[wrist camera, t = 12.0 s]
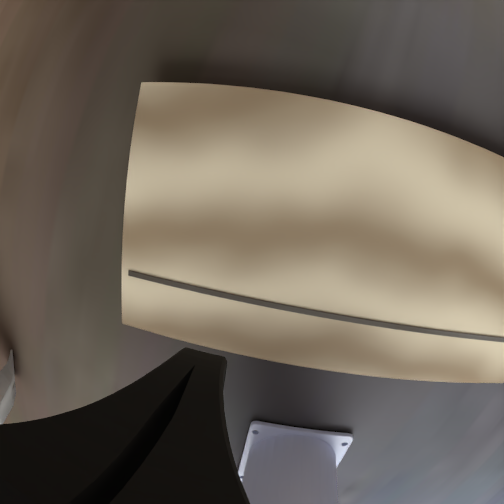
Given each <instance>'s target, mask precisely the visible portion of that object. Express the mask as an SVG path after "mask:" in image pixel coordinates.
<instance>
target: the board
mask: <svg viewBox="0 0 504 504" xmlns="http://www.w3.org/2000/svg"><path fill="white" fill-rule="evenodd" d="M122 323H123V324H126V325H129V326H133V327H136V328H139V329H143V330H146V331H149V332H153V333H156V334H160V335H163V336H167V337H171V338H174V339H178V340H182V341H185V342H189V343H193V344H197V345H201V346H205V347H209V348H214V349H218V350H222V351H226V352H231V353H235V354H240V355H244V356H249V357H254V358H259V359H264V360H269V361H274V362H280V363H285V364H291V365H296V366H302V367H308V368H314V369H321V370H328V371H334V372H342V373H349V374H357V375H366V376H374V377H384V378H395V379H406V380H420V381H436V382H461V383H504V157H502V156H500V155H497V154H495V153H493V152H491V151H488V150H486V149H484V148H482V147H479V146H477V145H475V144H472V143H470V142H467V141H465V140H462V139H460V138H457V137H454V136H452V135H449V134H447V133H444V132H441V131H438V130H435V129H433V128H430V127H427V126H424V125H421V124H418V123H415V122H411V121H408V120H405V119H402V118H398V117H395V116H392V115H388V114H385V113H381V112H377V111H373V110H370V109H366V108H362V107H358V106H353V105H349V104H345V103H340V102H336V101H331V100H326V99H321V98H316V97H311V96H305V95H299V94H293V93H287V92H281V91H274V90H266V89H258V88H250V87H240V86H230V85H217V84H202V83H177V82H142V83H141V88H140V93H139V98H138V104H137V109H136V115H135V122H134V128H133V135H132V142H131V149H130V157H129V166H128V175H127V185H126V196H125V208H124V223H123V244H122Z"/></svg>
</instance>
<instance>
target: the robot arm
mask: <svg viewBox="0 0 504 504" xmlns="http://www.w3.org/2000/svg"><path fill="white" fill-rule="evenodd" d="M226 368H227V360H226V358H225V357H222V356H218V355H214V354H209V353H205V352H201V351H197V350H193V349H190V348H184V349H182V350H181V351H179V352H178V353H177V354H175V355H174V356H172V357H171V358H170V359H168V360H167V361H166V362H164V363H163V364H161V365H160V366H158V367H157V368H155V369H154V370H152V371H151V372H149V373H148V374H146V375H145V376H143V377H142V378H140V379H138V380H137V381H135V382H133V383H132V384H130V385H128V386H126V387H124V388H123V389H121V390H119V391H117V392H115V393H113V394H111V395H109V396H107V397H105V398H103V399H101V400H99V401H96V402H94V403H92V404H89V405H87V406H84V407H81V408H78V409H75V410H72V411H69V412H65V413H62V414H59V415H55V416H52V417H48V418H43V419H38V420H33V421H27V422H20V423H12V424H0V504H338V489H337V468H336V467H337V466H338V464H339V463H340V461H341V459H342V458H343V456H344V454H345V453H346V451H347V449H348V448H349V446H350V444H351V443H352V441H353V435H352V434H350V433H340V432H330V431H321V430H312V429H305V428H298V427H291V426H284V425H278V424H272V423H267V422H261V421H253V422H251V424H250V428H249V431H248V435H247V439H246V443H245V447H244V451H243V455H242V458H241V462H240V466H239V470H238V471H237V468H236V464H235V461H234V458H233V454H232V450H231V446H230V442H229V437H228V432H227V427H226V420H225V413H224V401H223V388H224V381H225V374H226ZM254 430H257V431H254ZM344 442H345V443H344Z"/></svg>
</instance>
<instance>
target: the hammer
mask: <svg viewBox="0 0 504 504" xmlns="http://www.w3.org/2000/svg"><path fill="white" fill-rule="evenodd" d="M15 396H16V387H15V375H14V363H13V350H12V349H11V351H10V355H9V359H8V362H7V364H6V365H5V366H4V367H3V369H2V370H1V371H0V424H3V422H4V421H5V419H6V417H7V415H8V414H9V412H10V410H11V408H12V407H13V404H14V400H15Z"/></svg>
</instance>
